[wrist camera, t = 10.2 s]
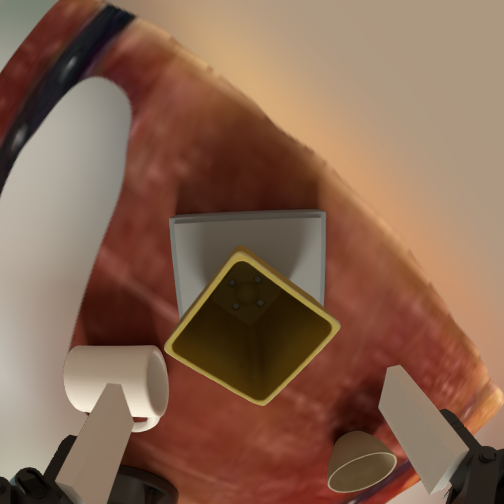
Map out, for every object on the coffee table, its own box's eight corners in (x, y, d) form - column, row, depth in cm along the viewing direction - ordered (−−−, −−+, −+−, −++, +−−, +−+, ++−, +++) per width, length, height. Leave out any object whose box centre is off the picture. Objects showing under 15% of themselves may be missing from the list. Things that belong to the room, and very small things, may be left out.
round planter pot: (363, 408, 36) (381, 443, 29) (389, 435, 38) (405, 465, 31) (305, 445, 37) (314, 481, 30) (337, 467, 39) (348, 498, 32)
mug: (84, 334, 32) (53, 368, 24) (158, 332, 32) (138, 372, 24) (112, 408, 34) (94, 447, 27) (180, 410, 34) (170, 455, 27)
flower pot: (314, 283, 28) (345, 326, 19) (256, 349, 29) (262, 409, 20) (238, 225, 26) (238, 247, 18) (182, 300, 28) (160, 349, 19)
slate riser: (189, 342, 32) (184, 357, 29) (175, 215, 29) (168, 218, 26) (315, 336, 32) (321, 350, 30) (318, 208, 29) (326, 212, 26)
